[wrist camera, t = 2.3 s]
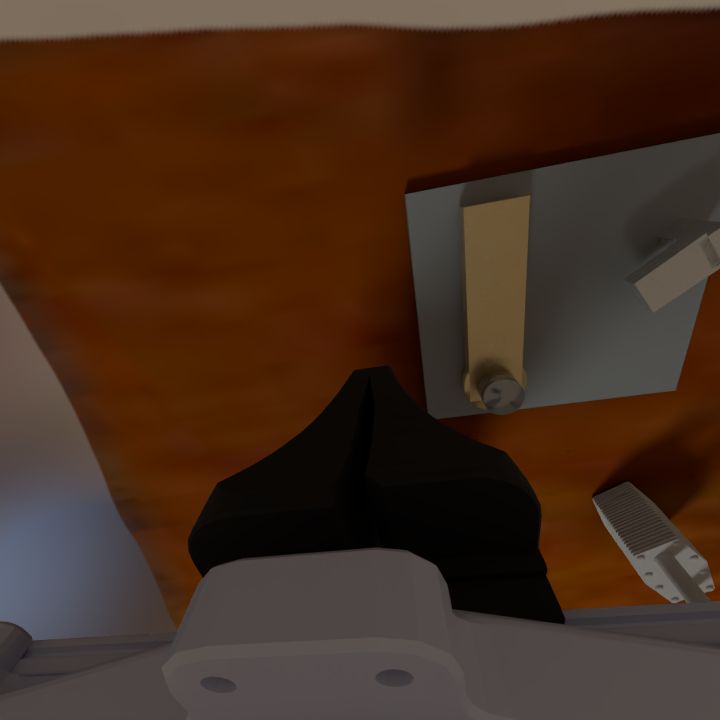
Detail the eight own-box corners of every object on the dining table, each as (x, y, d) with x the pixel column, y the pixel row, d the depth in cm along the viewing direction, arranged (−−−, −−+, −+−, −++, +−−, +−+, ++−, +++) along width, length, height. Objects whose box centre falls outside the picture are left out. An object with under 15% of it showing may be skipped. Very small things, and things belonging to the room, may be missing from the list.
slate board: (668, 385, 22) (675, 390, 21) (427, 414, 23) (428, 420, 23) (737, 129, 15) (750, 127, 15) (404, 194, 17) (405, 194, 17)
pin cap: (516, 400, 20) (524, 412, 19) (478, 405, 20) (484, 417, 19) (517, 368, 19) (526, 378, 18) (477, 373, 19) (483, 384, 18)
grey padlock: (582, 499, 26) (689, 654, 18) (633, 474, 25) (777, 629, 16) (620, 543, 29) (731, 702, 20) (668, 523, 27) (811, 683, 18)
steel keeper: (619, 298, 19) (653, 312, 16) (601, 272, 18) (634, 283, 16) (694, 245, 17) (742, 253, 15) (678, 215, 17) (726, 218, 14)
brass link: (519, 396, 21) (525, 405, 20) (461, 404, 22) (465, 412, 21) (527, 193, 16) (536, 194, 15) (452, 208, 17) (457, 208, 16)
